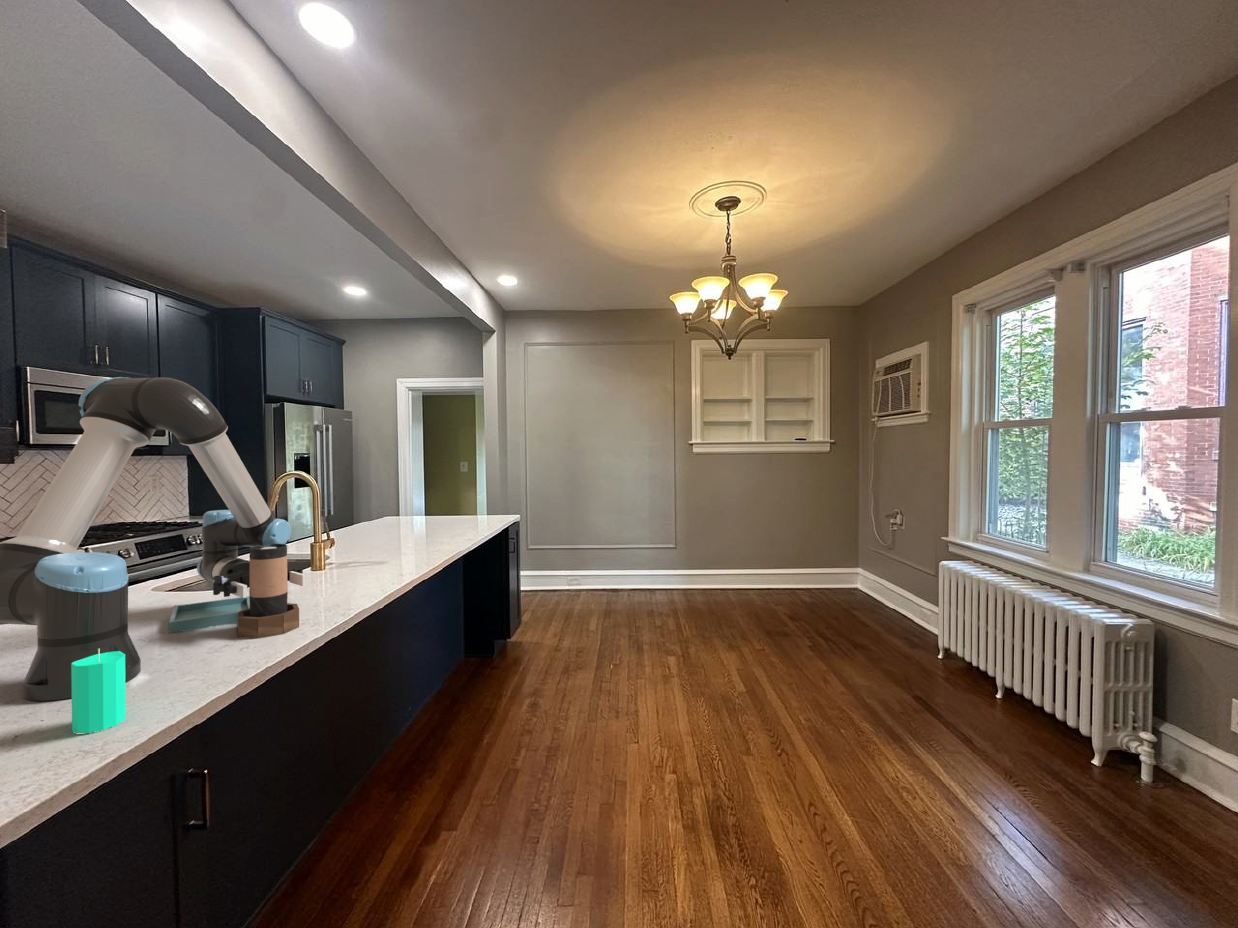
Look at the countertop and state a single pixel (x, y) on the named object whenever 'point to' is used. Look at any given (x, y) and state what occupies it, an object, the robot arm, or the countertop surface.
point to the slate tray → (207, 614)
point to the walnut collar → (268, 623)
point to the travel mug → (268, 580)
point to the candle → (98, 692)
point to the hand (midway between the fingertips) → (276, 585)
